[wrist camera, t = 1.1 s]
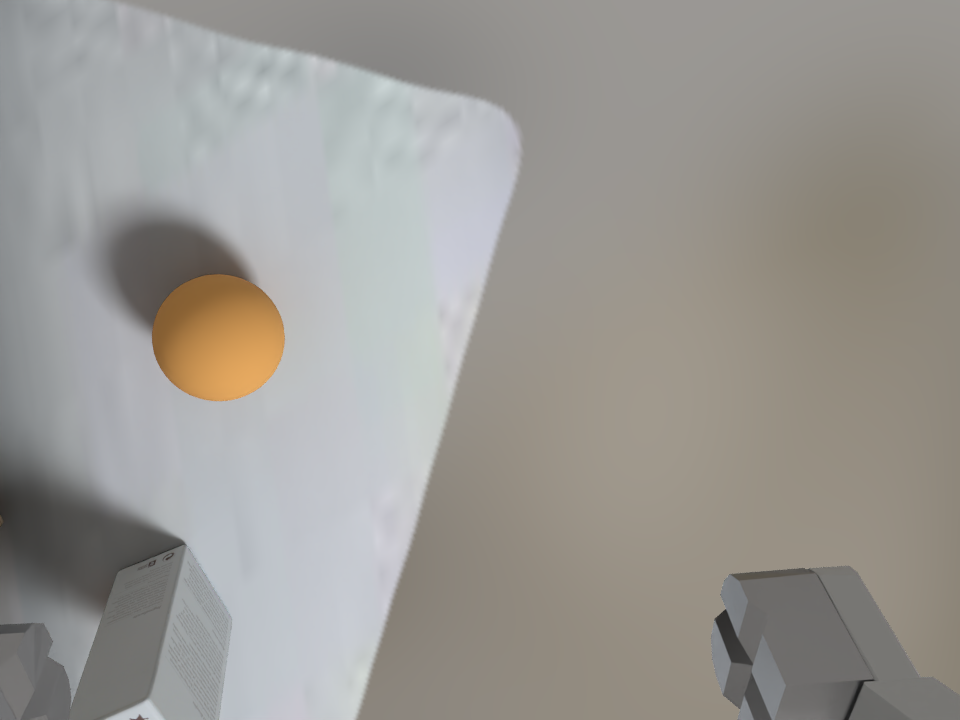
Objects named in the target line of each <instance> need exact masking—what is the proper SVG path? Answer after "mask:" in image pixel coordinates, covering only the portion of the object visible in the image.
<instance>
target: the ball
mask: <svg viewBox="0 0 960 720" xmlns="http://www.w3.org/2000/svg"><path fill="white" fill-rule="evenodd" d="M284 340H285V335H284V327H283V323H282V319H281V316H280V314H279V312H278V310H277V308H276V306H275V305H274V303H273V302H272V300H271V299H270V298H269V297H268V296H267V295H266V294H265V293H264V292H263V291H262V290H261V289H260V288H258V287H257V286H256V285H254V284H252V283H250V282H249V281H246V280H244V279H242V278H238V277H235V276H230V275H223V274H213V275H205V276H200V277H197V278H194V279H192V280H190V281H188V282H186V283H184V284H182V285H180V286H179V287H177V288H176V289H175V290H174V291H173V292H172V293H170V295H169V296H168V297H167V298H166V299H165V301H164V302H163V303H162V305H161V307H160V308H159V310H158V312H157V315H156V317H155V321H154V325H153V331H152V344H153V350H154V354H155V357H156V360H157V362H158V364H159V366H160V368H161V370H162V371H163V373H164V374H165V375H166V377H167V378H168V379H169V380H170V381H171V382H172V383H173V384H174V385H175V386H176V387H178V388H179V389H181V390H182V391H184V392H186V393H187V394H189V395H192V396H194V397H197V398H200V399H204V400H210V401H228V400H233V399H238V398H241V397H243V396H246V395H248V394H250V393H252V392H254V391H255V390H257V389H258V388H260V387H261V386H262V385H263V384H264V383H266V382H267V380H268V379H269V378H270V377H271V376H272V375H273V373H274V372H275V370H276V369H277V367H278V365H279V362H280V360H281V357H282V354H283V349H284Z"/></svg>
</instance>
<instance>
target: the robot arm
mask: <svg viewBox="0 0 960 720" xmlns="http://www.w3.org/2000/svg"><path fill="white" fill-rule="evenodd" d="M721 597H722V600H723V602H724V605H725V607H726V609H725V610H724V611H723V612H722V613H721V614H720V615H719V616H717V617H716V618H715V620H714V625H713V630H712V635H711V644H712V660H713V664H714V668H715V673H716V677H717V680H718V682H719V685H720V688H721V691H722V694H723V696H725V697H726V698H727V699H728V700H730V701H731V702H732V703H733V704H734V705H735V706H737V707H738V708H739V709H740V712H739V716H738V720H960V695H959V694H957V693H956V692H954V691H953V690H951V689H950V688H949V687H947V686H946V685H944V684H943V683H941V682H940V681H938V680H937V679H936V678H934V677H920V675H919V674H918V672H917V670H916V668H915V667H914V665H913V663H912V662H911V660H910V658H909V657H908V655H907V653H906V652H905V650H904V648H903V647H902V645H901V644H900V642H899V640H898V639H897V637H896V635H895V634H894V632H893V630H892V629H891V627H890V625H889V624H888V622H887V620H886V619H885V617H884V616H883V614H882V612H881V611H880V609H879V607H878V606H877V604H876V602H875V601H874V599H873V598H872V596H871V594H870V593H869V591H868V589H867V587H866V586H865V584H864V583H863V581H862V579H861V578H860V576H859V574H858V573H857V572H856V571H855V570H854V569H853V568H851V567H850V566H839V567H838V566H837V567H823V568H809V569H805V568H799V569H787V570H775V571H763V572H750V573H739V574H729V576H728V577H727V578H726V579H725V580H724V583H723V587H722V591H721ZM52 643H53V641H52V639H51V637H50V635H49V633H48V631H47V629H46V627H45V625H44V623H27V624H4V625H0V720H69V715H70V705H71V692H70V684H69V679H68V676H67V674H66V671H65V669H64V666H62V665H61V664H59V663H57V662H56V661H54V660H53V659H51V658H49V657H48V653H49V651H50V648H51V646H52Z"/></svg>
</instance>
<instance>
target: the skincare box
mask: <svg viewBox="0 0 960 720" xmlns="http://www.w3.org/2000/svg"><path fill="white" fill-rule="evenodd" d="M231 627H232V618H231V616H230V615H229V613H228V611H227V610H226V608H225V607H224V605H223V603H222V602H221V600H220V598H219V597H218V595H217V594H216V592H215V590H214V589H213V587H212V585H211V584H210V582H209V581H208V579H207V577H206V576H205V574H204V573H203V571H202V569H201V568H200V566H199V565H198V563H197V561H196V560H195V558H194V557H193V555H192V553H191V551H190V550H189V548H188V546H187V545H182V546H179V547H177V548H174V549H172V550H169V551H167V552H165V553H162V554H160V555H157V556H155V557H152V558H150V559H148V560H145V561H143V562H140V563H138V564H135V565H133V566H130V567H127V568H125V569H123V570H120V571H119V572H118V573H117V575H116V578H115V581H114V584H113V587H112V590H111V593H110V595H109V599H108V601H107V604H106V607H105V610H104V613H103V616H102V619H101V622H100V625H99V627H98V630H97V633H96V636H95V639H94V642H93V645H92V648H91V651H90V654H89V657H88V659H87V662H86V665H85V668H84V671H83V674H82V677H81V680H80V683H79V685H78V689H77V692H76V694H75V697H74V700H73V703H72V706H71V709H70V715H69V720H219V715H220V707H221V700H222V693H223V685H224V678H225V670H226V663H227V656H228V648H229V641H230V634H231Z"/></svg>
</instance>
